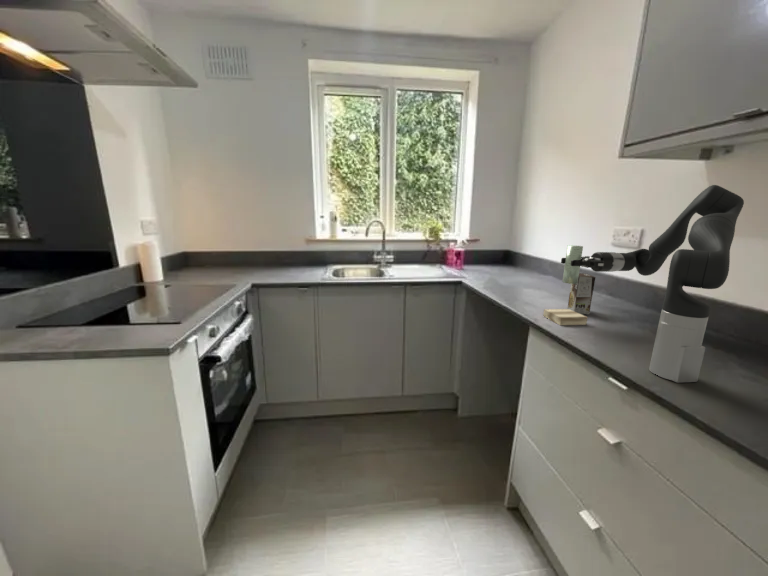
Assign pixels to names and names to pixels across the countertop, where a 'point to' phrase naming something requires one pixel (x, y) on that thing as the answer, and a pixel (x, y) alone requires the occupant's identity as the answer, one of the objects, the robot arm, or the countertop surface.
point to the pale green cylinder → (570, 271)
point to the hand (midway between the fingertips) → (566, 261)
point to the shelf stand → (565, 317)
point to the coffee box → (581, 294)
